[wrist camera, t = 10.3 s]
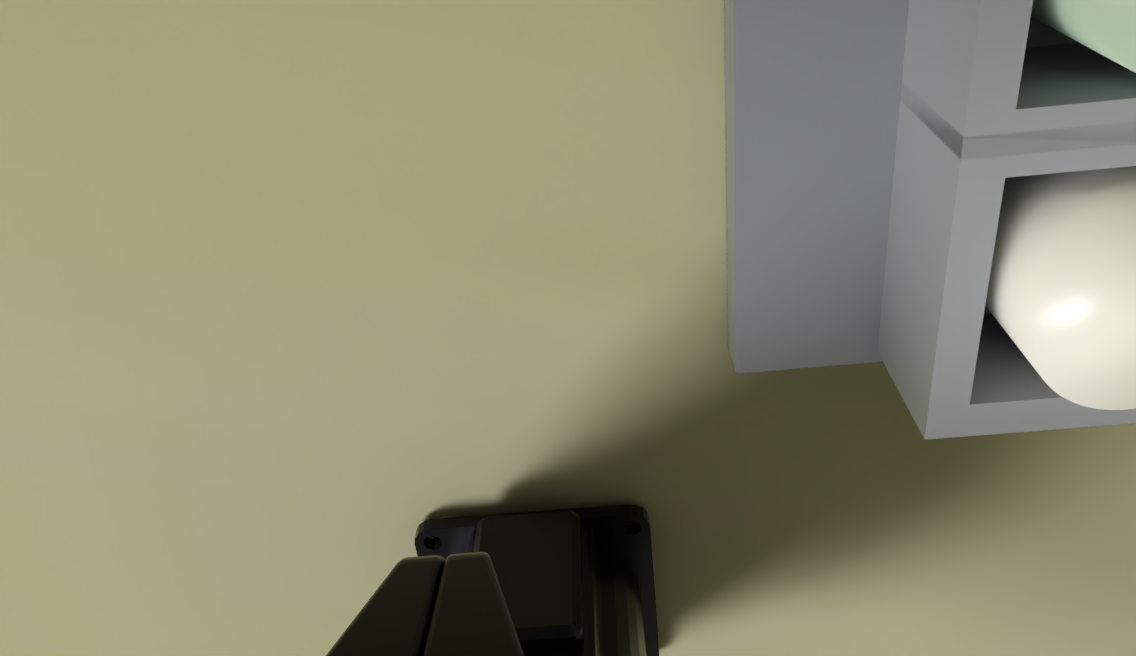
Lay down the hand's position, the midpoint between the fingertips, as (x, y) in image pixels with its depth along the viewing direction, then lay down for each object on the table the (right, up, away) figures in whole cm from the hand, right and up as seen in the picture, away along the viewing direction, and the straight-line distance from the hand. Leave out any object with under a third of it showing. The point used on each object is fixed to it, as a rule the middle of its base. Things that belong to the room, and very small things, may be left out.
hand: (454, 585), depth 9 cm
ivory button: (+11, +5, +11) cm, 16 cm away
